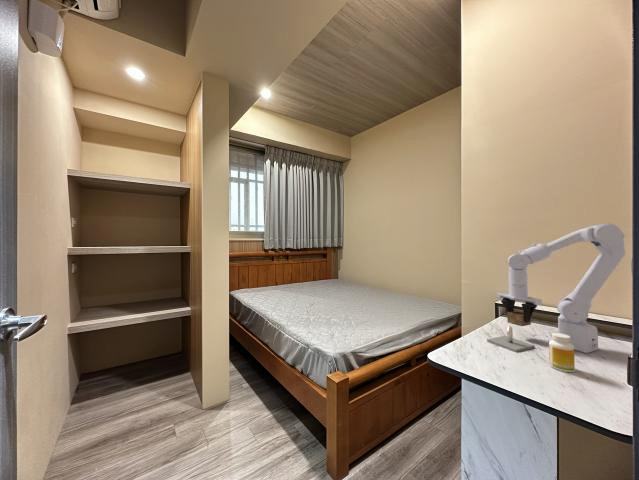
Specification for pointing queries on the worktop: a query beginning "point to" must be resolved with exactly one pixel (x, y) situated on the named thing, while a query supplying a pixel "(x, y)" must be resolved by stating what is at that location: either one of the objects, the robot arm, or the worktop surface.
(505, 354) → the worktop surface
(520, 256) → the robot arm
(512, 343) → the peg base
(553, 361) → the supplement bottle
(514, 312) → the square ring
